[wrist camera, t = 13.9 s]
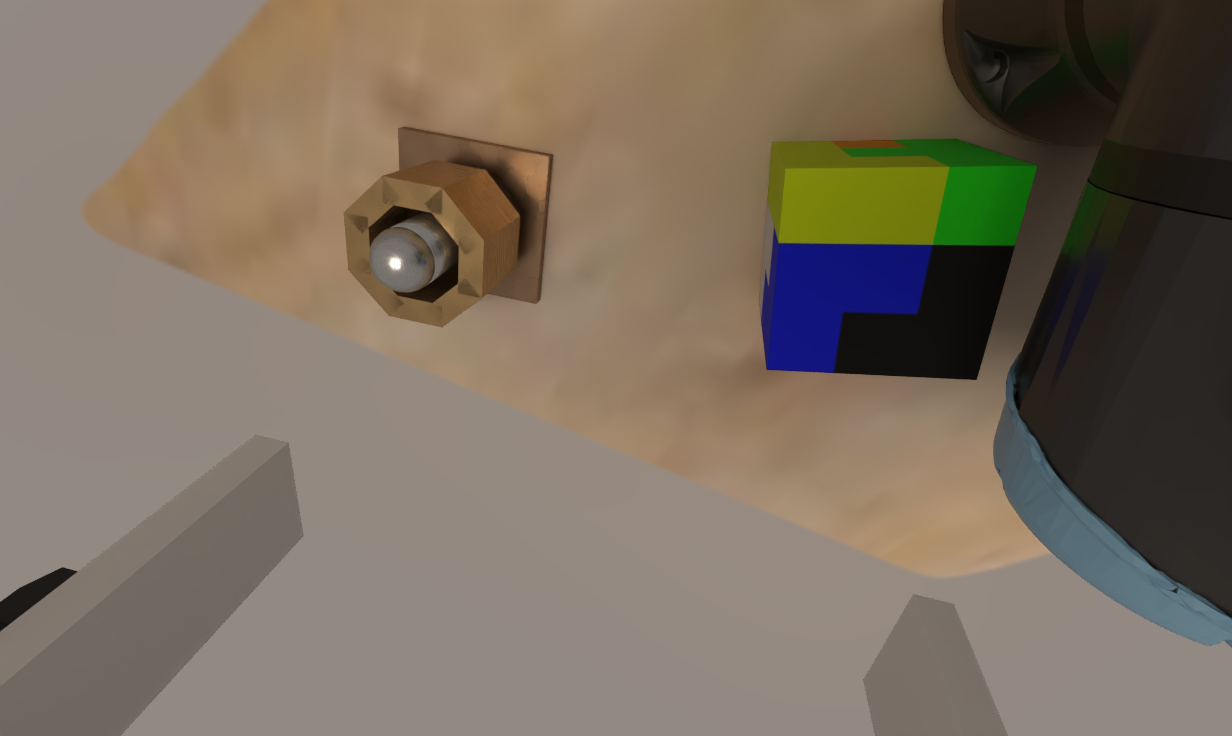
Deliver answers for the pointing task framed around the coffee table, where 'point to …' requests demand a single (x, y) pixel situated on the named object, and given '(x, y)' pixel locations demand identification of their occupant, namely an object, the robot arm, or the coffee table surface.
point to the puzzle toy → (887, 255)
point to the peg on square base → (426, 247)
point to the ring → (464, 212)
